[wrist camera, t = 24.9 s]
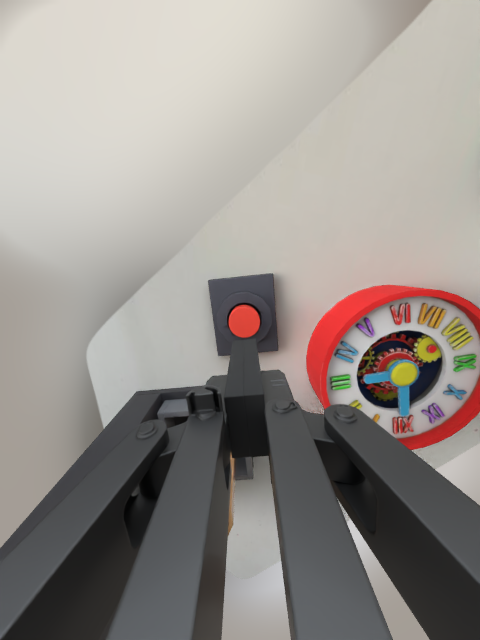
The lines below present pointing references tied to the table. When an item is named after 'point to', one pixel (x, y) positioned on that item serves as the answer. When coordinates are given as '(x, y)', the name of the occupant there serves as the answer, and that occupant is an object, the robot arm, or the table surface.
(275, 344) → the switch block
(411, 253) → the table surface
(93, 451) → the coffee maker
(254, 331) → the button
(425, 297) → the toy clock
